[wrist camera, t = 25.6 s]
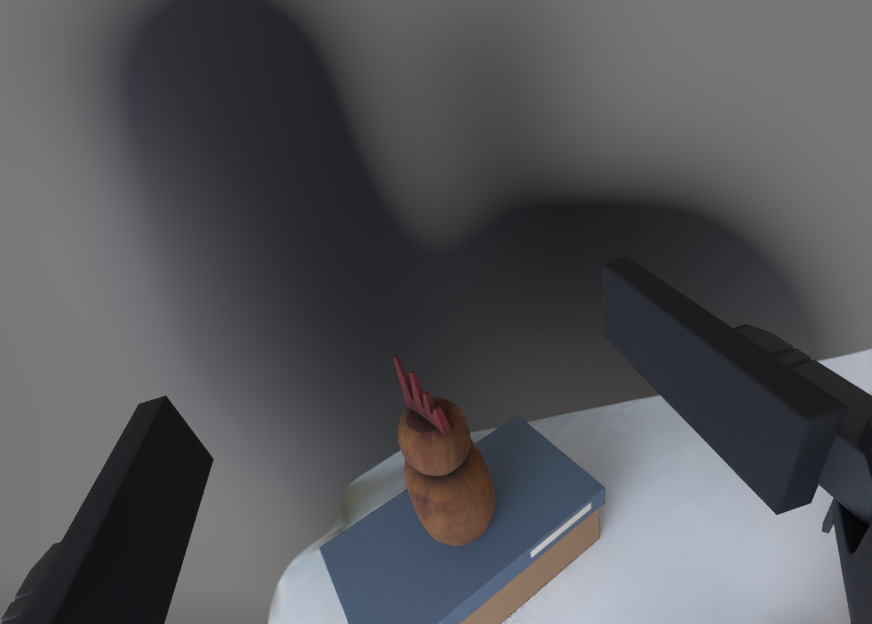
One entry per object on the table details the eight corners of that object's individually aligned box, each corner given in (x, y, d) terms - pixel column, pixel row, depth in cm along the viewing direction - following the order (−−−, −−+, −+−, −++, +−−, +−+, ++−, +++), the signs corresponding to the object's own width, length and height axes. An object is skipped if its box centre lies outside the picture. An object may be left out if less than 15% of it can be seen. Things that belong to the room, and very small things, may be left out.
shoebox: (525, 462, 44) (517, 414, 41) (605, 538, 37) (605, 487, 33) (347, 591, 38) (318, 547, 34) (400, 719, 30) (370, 679, 26)
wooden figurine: (412, 497, 36) (356, 355, 28) (477, 469, 37) (440, 324, 29) (438, 576, 30) (377, 426, 22) (513, 541, 31) (481, 385, 23)
